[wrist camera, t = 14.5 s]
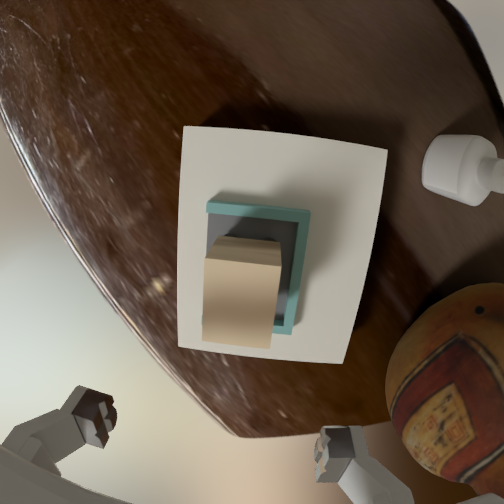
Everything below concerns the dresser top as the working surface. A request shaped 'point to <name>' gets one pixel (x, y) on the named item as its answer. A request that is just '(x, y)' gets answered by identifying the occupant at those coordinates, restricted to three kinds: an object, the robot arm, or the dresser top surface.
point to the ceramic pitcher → (454, 388)
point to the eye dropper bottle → (463, 168)
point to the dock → (281, 230)
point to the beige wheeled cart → (241, 291)
